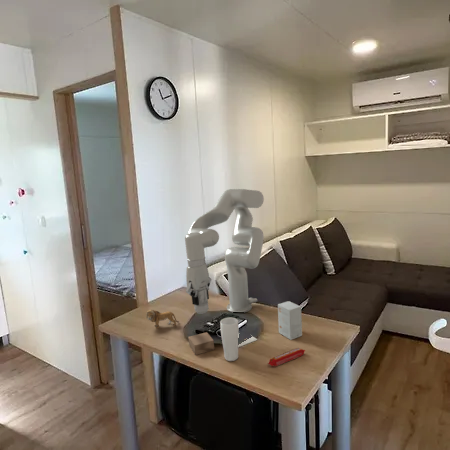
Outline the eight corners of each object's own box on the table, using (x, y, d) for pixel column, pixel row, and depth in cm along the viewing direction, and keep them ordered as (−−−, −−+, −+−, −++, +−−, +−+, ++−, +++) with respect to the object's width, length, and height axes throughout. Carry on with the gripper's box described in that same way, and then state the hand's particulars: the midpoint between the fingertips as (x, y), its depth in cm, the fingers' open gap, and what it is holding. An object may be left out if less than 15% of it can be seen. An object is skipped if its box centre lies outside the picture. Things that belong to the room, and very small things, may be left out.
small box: (302, 335, 152) (301, 306, 149) (290, 340, 149) (289, 310, 146) (289, 328, 159) (289, 300, 156) (278, 332, 156) (277, 304, 153)
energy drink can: (206, 307, 162) (202, 275, 159) (210, 312, 156) (207, 279, 153) (193, 310, 160) (189, 278, 157) (197, 315, 154) (193, 282, 151)
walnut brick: (207, 341, 152) (206, 332, 152) (214, 349, 145) (213, 340, 144) (189, 345, 149) (188, 336, 149) (195, 354, 142) (194, 345, 141)
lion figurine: (148, 331, 165) (146, 313, 163) (146, 326, 170) (145, 308, 168) (180, 325, 169) (178, 306, 168) (177, 320, 174) (176, 303, 173)
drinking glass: (218, 358, 138) (216, 321, 136) (231, 351, 143) (229, 315, 140) (231, 365, 134) (229, 326, 131) (244, 357, 138) (241, 320, 136)
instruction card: (244, 332, 158) (244, 331, 158) (257, 339, 151) (257, 339, 151) (221, 340, 152) (221, 340, 152) (233, 349, 144) (233, 348, 144)
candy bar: (299, 351, 140) (299, 344, 140) (306, 355, 137) (306, 348, 137) (266, 365, 132) (266, 357, 132) (272, 370, 129) (272, 362, 129)
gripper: (203, 255, 162) (207, 292, 166) (175, 267, 149) (180, 307, 153) (216, 257, 158) (219, 295, 161) (189, 269, 144) (194, 311, 148)
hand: (200, 301), depth 157 cm, fingers closed on energy drink can, 6 cm apart
